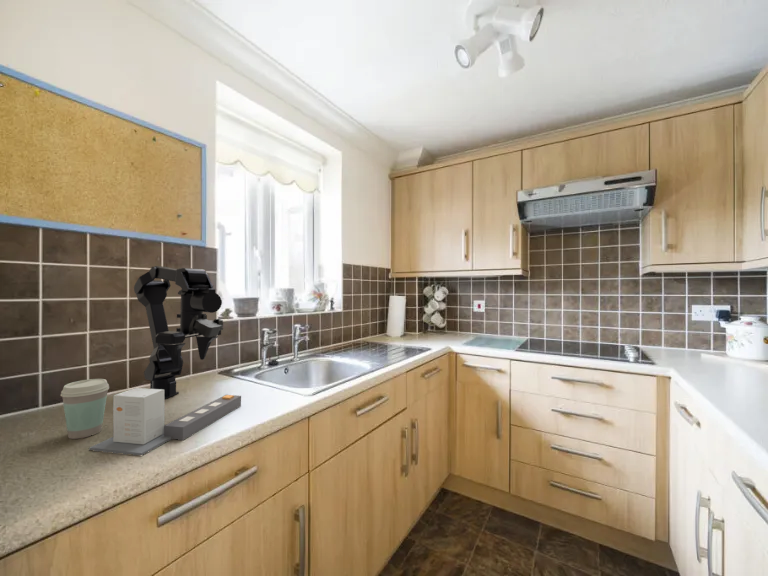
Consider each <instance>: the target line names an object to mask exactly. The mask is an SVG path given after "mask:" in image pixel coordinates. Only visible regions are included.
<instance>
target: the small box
mask: <svg viewBox="0 0 768 576" xmlns="http://www.w3.org/2000/svg"><path fill="white" fill-rule="evenodd" d="M112 397H113V404H112V405H113V410H112V413H113V415H112V416H113V417H112V418H113V421H112V422H113V431H112V432H113V433H112V434H113V436H112V437H113V441H114V442H121V443H132V444H143V445H144V444H146V443H148V442H149V441H151V440H153V439H155V438H157V437H159V436H160V435H162V434H164V425H166V424H165V399H164V390H162V389H150V388H145V387H142V388H141V387H135V388H131V389H129V390H126V391H123V392H120V393H117V394H114V395H113V396H112Z"/></svg>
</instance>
